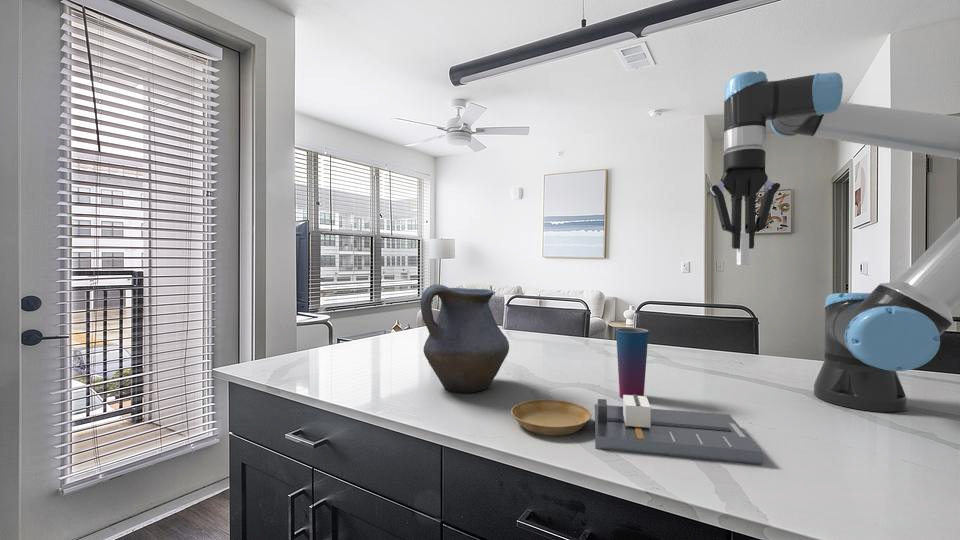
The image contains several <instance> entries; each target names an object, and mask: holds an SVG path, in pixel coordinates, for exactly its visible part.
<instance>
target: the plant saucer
mask: <svg viewBox="0 0 960 540" xmlns="http://www.w3.org/2000/svg"><path fill="white" fill-rule="evenodd" d="M510 413H511V414H512V416H513V418H514V419H515V420H516V422H518V424H519V425H520V426H522V428H524V429H525V430H526V431H529V432H531V433H534V434H537V435H543V436H552V437H553V436H566V435H573V434H574V433H578V431H580V430H581V429H582V428H584V427H585V426H586V425H587V424H588V422H589V421H590V420H591V418H592V412H591V411H590V410H589V408H587V407H585V406H583V405H581V404H578V403H574V402H571V401H567V400H566V401H565V400H559V399H549V398H547V399H533V400H526V401H522V402H520V403H517V404H515V405H514V406H513V407H512V408H511V410H510Z"/></svg>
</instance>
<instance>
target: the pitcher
mask: <svg viewBox="0 0 960 540" xmlns="http://www.w3.org/2000/svg"><path fill="white" fill-rule="evenodd" d="M493 295H494V290H493V289H488V288H463V287H448V286H446V285H444V284H438V283H437V284H432V285H430V286H428V287H427V288H426V289H425V290H424V291H423V293H422V295H421V298H420V311H421V316H422V321H423V322H424V324H425V326H426V328H427V331H428V333H429V335H428V337H427V338H426V341H425V343H424V346H423V355H424V356H425V358H426V360H427V361H428V364H429V366H430V367H431V368H432V370H433V372H434V373H435V375H436V377H437V378H438V380H439V382H440V384H441V385H442V387H444V388H445V390H447V391H450V392H452V393H455V394H473V393H476V392H484V391H486V390H487V389H489V387H490V386H491V384H492V383H493V381H494V380H495V377H496V376H497V374H498V373H499V371H500V370H501V367H502V365H503V363H504V362H505V360H506V358H507V356H508V353H509V351H510V342H509V340H508V338H507V336H506V335H505V334H504V333H503V331H502V330H501V329H500V327H499V326H498V323H497V320H496V319H495V317H494V315H493V312H492V310H491V308H490V304H489V303H490V300H491V298H492V297H493ZM436 296H437V297H438V298H439V299H440V303H441V305H440V309H439V313H438V314H437V315H438V316H437V318H436V320H434V314H433V307H432V301H433V299H434V297H436Z"/></svg>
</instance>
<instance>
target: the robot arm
mask: <svg viewBox="0 0 960 540" xmlns="http://www.w3.org/2000/svg"><path fill="white" fill-rule="evenodd" d="M767 77H768V76H767V73H765V72H764V71H762V70H761V71H760V70H757V71H753V70H750V71H744V72H741V73H737V74H736V75H733V76H731V78H729V79H728V80H727V82H726V83H725V87H724V99H723V100H724V101H723V133H724V134H723V152H725V154H724V155H723V164H722V165H723V169H722V170H723V174H722V176H721V178H720V182H719V183H717V184H714V185H712V186H711V187H709V189H708V190H709V192H710V194H711V195H712V197H713V198H714V203H715V206H716V210H717V214H718V218H719V221H720V225H721V226H720V227H721V230H722V231H723V232H724V231H725V232H728V233H730V234H731V248H732V249H733V250H734V249H735V250H736V266H748V265H750V264H749V263H750V250H751V249H754V247H755V234H756V232H759V231H762V230H765V228H766V226H767V221H768V218H769V215H770V211H771V208H772V205H773V200H774V197H775V195H776V193H777V192H778V190H779V189H780V188H781V184H780V183H779V182H773V181H772V180H770V179H769V178H768V177H769V176H768V174H767V173H766V155H767V154H766V153H767V152H766V151H765V150H764V148H766V145H767V144H766V143H767V135H766V133H767V131H766V129H767V121H770V127H771V129H772V131H773V133H775V134H776V135H778V136H780V137H784V138H785V137H786V138H787V137H795V136H797V135H801V136H808V137H815V138H821V139H828V140H834V141H840V142H841V141H842V142H846V143H854V144H859V145H867V146H874V147H881V148H886V149H893V150H899V151H905V152H911V153H917V154H924V155H930V156H931V155H932V156H937V157H942V158H943V157H944V158H951V159H956V160H960V116H959V115H958V116H957V115H951V114H950V115H949V114H940V113H934V112H932V113H931V112H925V111H924V112H923V111H915V110H907V109H900V108H891V107H883V106H874V105H867V104H860V103H859V104H858V103H851V102H842V98H843V91H844V86H843V85H844V84H843V83H844V82H843V77H842V75H841V74H840V73H839V72H836V71H835V72H825V73H820V72H818V73H815V74H810V75H805V76H798V77H797V76H796V77H793V78H792V77H791V78H787V79H786V78H784V79H780V80H769V79H768V78H767ZM762 188H763V191H764V194H763V195H762V199H761V202H760V206H759V209H758V213H757V215H756V209H757V208H756V203H757V202H756V200H757V195H758V193H759V192H760V190H761V189H762ZM724 190H726V191H727V192H728V194H729V195H730V202H731V216H730V215H729V214H730V213H729V211H728V207H727V203H726V199H725V195H724V193H723V192H725V191H724ZM743 198H744V232H745V233H741V232H742V210H743V208H742V206H743V205H742V204H743ZM756 216H757V217H756ZM730 217H731V219H730ZM959 304H960V216H959V217H958V218H957V219H956V220H955V221H954V222H953V223H952V224H951V225H950V226H948V228H947V229H946V230H945V231H944V232H943V233H942V234H941V235H940V236H939V237H938V238H937V239H936V241H934V242H933V243H932V244H931V245H930V246H929V248H927V249H926V251H925V252H924V253H922V254H921V255H920V257H918V259H917V260H915V262H913V264H912V265H910V267H908V269H907V270H905V272H904V273H903V274H901V276H900V277H899V278H898V279H897V280H895V281H891V282H884V283H880V284H878V285H877V287H875V288H874V290H872V291H871V292H844V293H843V292H839V293H831V294H829V295H827V296H826V298H825V304H824V306H823V310H824V358H823V363H822V366H821V368H820V370H819V372H818V374H817V377H816V379H815V381H814V384H813V395H814V397H816V398H818V399H820V400H822V401H824V402H828V403H831V404H834V405H838V406H841V407H846V408H851V409H857V410H862V411H868V412H870V411H871V412H879V413H881V412H882V413H897V412H898V413H899V412H903V411H906V410H907V400H908V398H907V396H906V393H905V391H904V388H903V384H902V383H901V380H900V377H899V375H898V373H897V372H902V371H911V370H914V369H917V368H920V367H922V366H924V365H926V364H927V363H929V362H930V361H931V360H933V358H934V357H935V356H936V355H937V353H938V352H939V349H940V347H941V346H940V345H941V335H942V334H943V333H945V332H946V331H947V330H948V329H949V328H950V327H951V326H952V325H953V324H954V319H953V314H952V310H953V309H954V308H955V307H956V306H957V305H959Z"/></svg>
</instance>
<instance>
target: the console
mask: <svg viewBox="0 0 960 540" xmlns="http://www.w3.org/2000/svg"><path fill="white" fill-rule="evenodd" d="M594 440H595V441H594V443H595V446H594V447H595V448H594V449H598V450H609V451H617V452H618V451H619V452H627V453H630V452H631V453H639V454H650V455H659V456H671V457H681V458H688V459H689V458H690V459H700V460H709V461H719V462H729V463H740V464H751V465H759V466H762V463H763V461H762V460H763V459H762V458H763V454H762V453H763V452H762V450H761V449H760V447H759V446H757V444H756V443H755V442H754V441H753V439H751V438H750V436H749V435H748V434H747V432H745V431H744V430H743V428H742V427H741V426H740V425H739V424H738V423H737V422H736V420H735V419H734V418H733V417H732V416H731V415H730V414H725V413H714V412H699V411H687V410H686V411H685V410H676V409H675V410H673V409H661V408H651V423H650V428H647V427H635V426H625V421H624V416H623V405H621V406H620V405H609V404H608V401H607V399H605V398H602V399H601V398H597V404H594Z"/></svg>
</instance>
